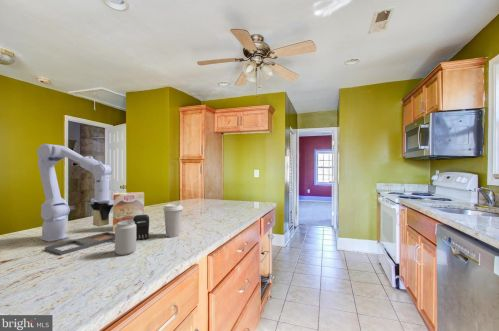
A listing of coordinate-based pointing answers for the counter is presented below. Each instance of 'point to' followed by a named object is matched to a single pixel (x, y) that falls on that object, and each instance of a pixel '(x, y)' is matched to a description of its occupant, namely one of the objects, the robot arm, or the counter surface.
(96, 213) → the brass block
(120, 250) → the can
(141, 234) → the battery charger
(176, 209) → the coffee cup
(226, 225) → the counter surface
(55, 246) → the gray rectangular frame
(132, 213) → the coffeecake box
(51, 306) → the counter surface
